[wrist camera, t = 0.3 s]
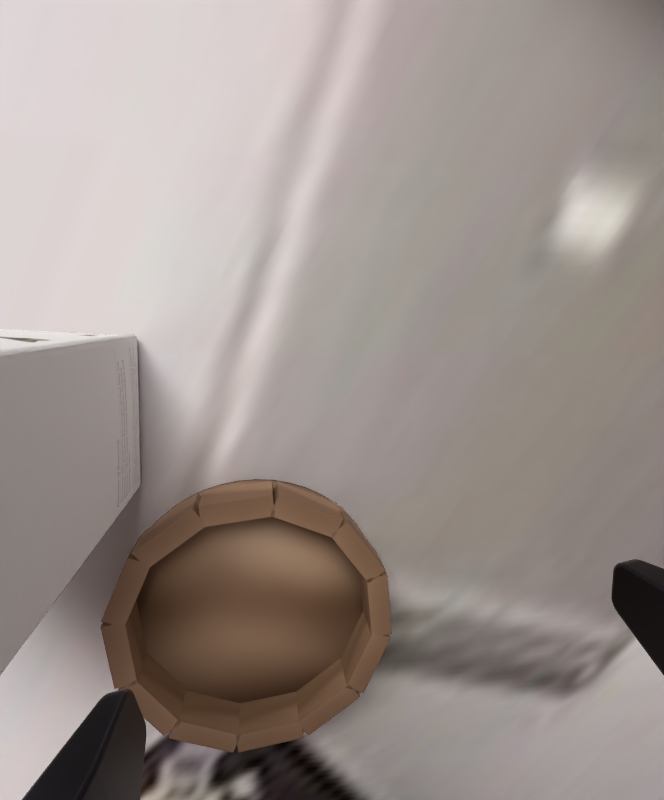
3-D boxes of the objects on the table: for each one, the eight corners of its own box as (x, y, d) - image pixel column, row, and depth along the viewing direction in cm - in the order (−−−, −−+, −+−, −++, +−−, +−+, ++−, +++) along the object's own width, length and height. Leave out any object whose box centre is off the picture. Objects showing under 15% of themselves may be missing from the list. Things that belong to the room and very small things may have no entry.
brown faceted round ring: (385, 679, 25) (397, 716, 23) (146, 730, 23) (134, 776, 21) (367, 462, 22) (380, 479, 20) (98, 500, 21) (77, 524, 18)
